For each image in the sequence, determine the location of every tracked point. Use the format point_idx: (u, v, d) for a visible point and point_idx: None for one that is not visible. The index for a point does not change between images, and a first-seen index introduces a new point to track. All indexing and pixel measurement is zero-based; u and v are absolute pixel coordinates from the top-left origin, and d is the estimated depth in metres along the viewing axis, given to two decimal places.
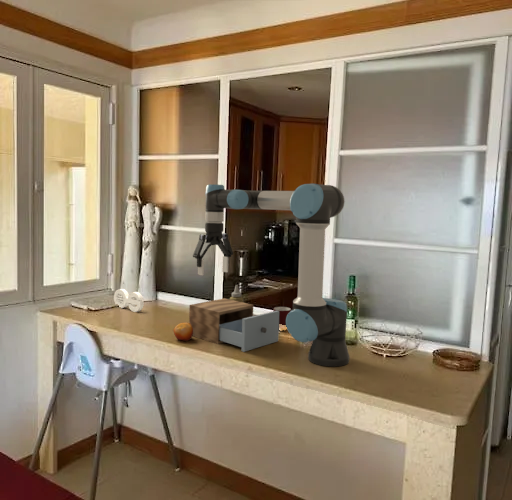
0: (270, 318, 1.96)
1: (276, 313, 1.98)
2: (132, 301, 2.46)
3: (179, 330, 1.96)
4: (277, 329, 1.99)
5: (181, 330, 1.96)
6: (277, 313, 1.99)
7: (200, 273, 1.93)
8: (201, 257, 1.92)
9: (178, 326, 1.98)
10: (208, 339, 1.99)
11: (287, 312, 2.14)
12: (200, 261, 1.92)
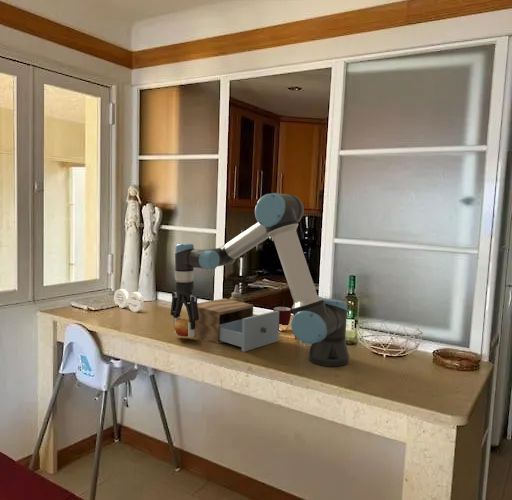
0: (270, 318, 1.96)
1: (276, 313, 1.98)
2: (132, 301, 2.46)
3: (180, 326, 1.96)
4: (277, 329, 1.99)
5: (181, 326, 1.96)
6: (277, 313, 1.99)
7: None
8: (173, 315, 2.01)
9: (179, 322, 1.98)
10: (208, 339, 1.99)
11: (287, 312, 2.14)
12: (175, 319, 2.02)
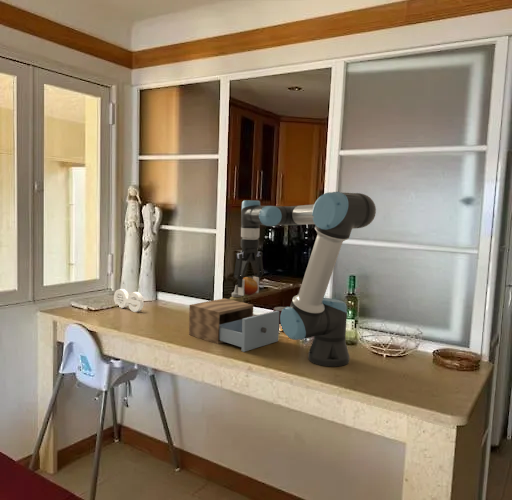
0: (270, 318, 1.96)
1: (276, 313, 1.98)
2: (132, 301, 2.46)
3: (256, 283, 1.95)
4: (277, 329, 1.99)
5: (256, 283, 1.95)
6: (277, 313, 1.99)
7: (241, 293, 1.93)
8: (242, 277, 1.91)
9: (250, 281, 1.94)
10: (208, 339, 1.99)
11: None
12: (241, 281, 1.91)
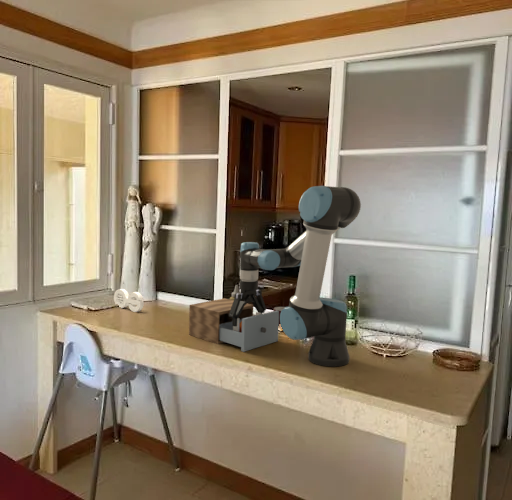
0: (270, 318, 1.96)
1: (276, 313, 1.98)
2: (132, 301, 2.46)
3: None
4: (276, 329, 2.00)
5: None
6: (277, 313, 1.99)
7: None
8: (237, 316, 1.90)
9: None
10: (208, 339, 1.99)
11: None
12: (236, 320, 1.91)
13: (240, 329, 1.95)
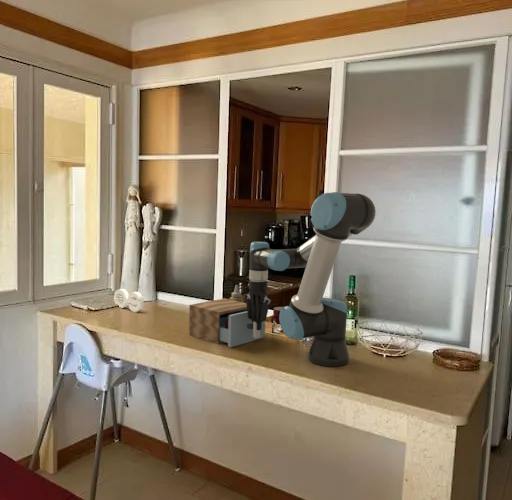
0: None
1: None
2: (132, 301, 2.46)
3: None
4: (263, 326, 2.04)
5: None
6: None
7: None
8: (252, 319, 1.94)
9: None
10: (208, 339, 1.99)
11: None
12: None
13: (227, 326, 2.00)
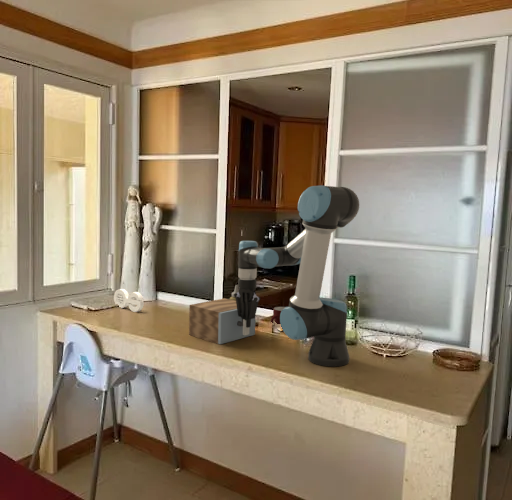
0: None
1: None
2: (132, 301, 2.46)
3: None
4: (253, 323, 2.08)
5: None
6: None
7: None
8: (241, 317, 1.98)
9: None
10: (208, 339, 1.99)
11: None
12: (243, 321, 1.98)
13: None
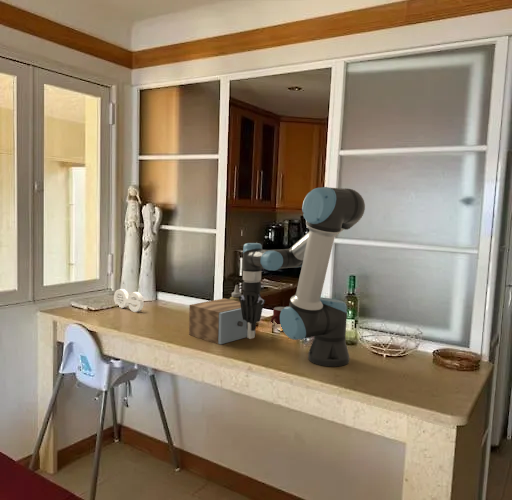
0: None
1: None
2: (132, 301, 2.46)
3: None
4: None
5: None
6: None
7: None
8: (246, 320, 1.96)
9: None
10: (208, 339, 1.99)
11: None
12: (247, 324, 1.96)
13: None
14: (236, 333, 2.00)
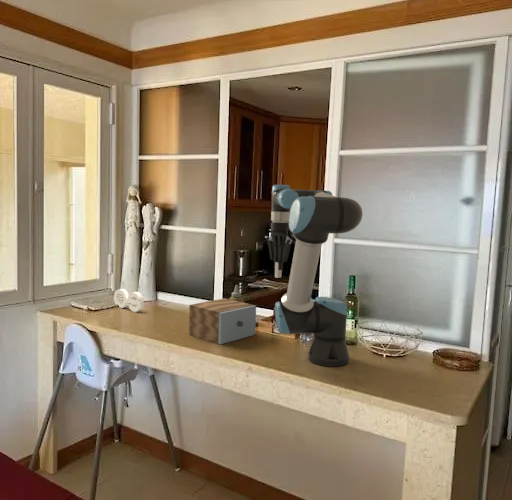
0: (247, 313, 2.04)
1: (253, 308, 2.07)
2: (132, 301, 2.46)
3: None
4: (253, 323, 2.08)
5: None
6: (254, 308, 2.07)
7: None
8: (274, 260, 2.03)
9: None
10: (208, 339, 1.99)
11: None
12: (275, 264, 2.03)
13: None
14: (236, 333, 2.00)
